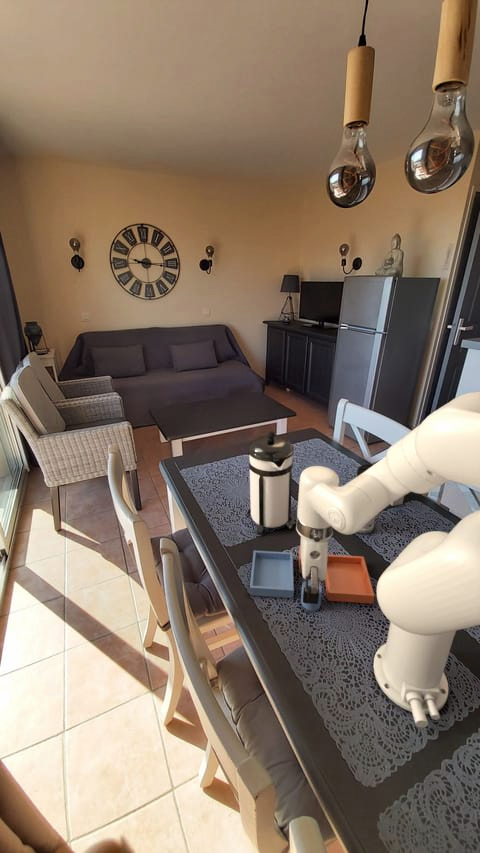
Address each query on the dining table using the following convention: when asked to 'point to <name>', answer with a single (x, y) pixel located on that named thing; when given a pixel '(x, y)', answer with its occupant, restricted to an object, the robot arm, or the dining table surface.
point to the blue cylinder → (306, 605)
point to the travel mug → (370, 524)
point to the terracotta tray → (348, 580)
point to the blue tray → (272, 574)
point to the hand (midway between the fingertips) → (308, 583)
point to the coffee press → (270, 481)
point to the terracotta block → (300, 561)
